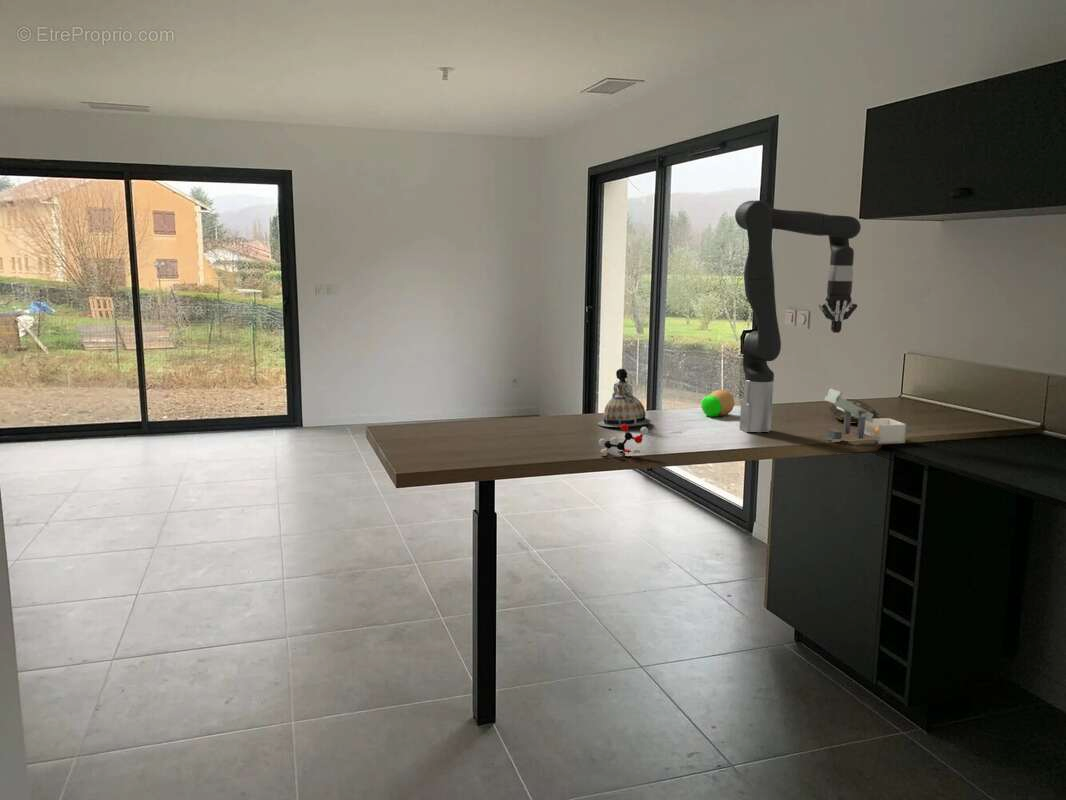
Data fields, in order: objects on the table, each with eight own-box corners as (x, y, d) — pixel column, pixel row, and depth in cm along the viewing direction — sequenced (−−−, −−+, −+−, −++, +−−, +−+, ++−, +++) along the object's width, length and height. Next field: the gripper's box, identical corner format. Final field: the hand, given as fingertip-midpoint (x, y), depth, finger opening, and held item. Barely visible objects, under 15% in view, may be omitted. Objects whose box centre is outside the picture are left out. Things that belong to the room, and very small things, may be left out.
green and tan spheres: (737, 386, 285) (713, 395, 279) (741, 412, 286) (718, 421, 280) (714, 386, 295) (691, 395, 289) (719, 411, 296) (696, 420, 290)
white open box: (878, 444, 248) (880, 425, 247) (861, 437, 257) (863, 419, 256) (904, 443, 249) (906, 424, 248) (887, 436, 258) (889, 418, 257)
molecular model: (607, 470, 231) (593, 440, 229) (607, 461, 239) (593, 432, 237) (656, 450, 228) (642, 420, 226) (654, 442, 236) (641, 413, 234)
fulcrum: (840, 446, 245) (843, 413, 243) (819, 436, 257) (821, 404, 255) (874, 444, 247) (877, 412, 245) (851, 435, 259) (854, 403, 257)
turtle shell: (851, 412, 268) (822, 390, 286) (846, 436, 272) (818, 413, 290) (894, 410, 271) (863, 389, 289) (889, 434, 274) (859, 411, 292)
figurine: (589, 422, 278) (591, 366, 275) (636, 421, 284) (638, 365, 281) (611, 431, 261) (614, 371, 258) (660, 429, 267) (663, 371, 264)
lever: (834, 403, 245) (840, 391, 245) (807, 393, 262) (812, 382, 262) (877, 425, 249) (883, 413, 249) (847, 413, 266) (853, 403, 265)
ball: (875, 432, 251) (884, 427, 252) (869, 430, 255) (878, 424, 255) (879, 440, 252) (887, 435, 252) (873, 438, 255) (881, 433, 255)
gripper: (827, 280, 252) (823, 334, 256) (865, 280, 255) (860, 333, 258) (815, 279, 260) (811, 331, 263) (852, 278, 262) (848, 331, 265)
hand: (835, 332), depth 260 cm, fingers closed
